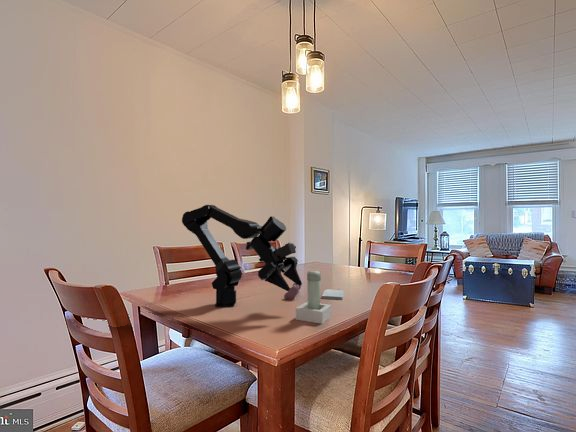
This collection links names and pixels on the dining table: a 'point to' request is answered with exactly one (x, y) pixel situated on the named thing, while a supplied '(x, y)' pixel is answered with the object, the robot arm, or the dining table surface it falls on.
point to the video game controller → (293, 291)
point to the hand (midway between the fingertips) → (295, 287)
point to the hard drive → (333, 294)
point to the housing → (314, 313)
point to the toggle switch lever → (314, 289)
